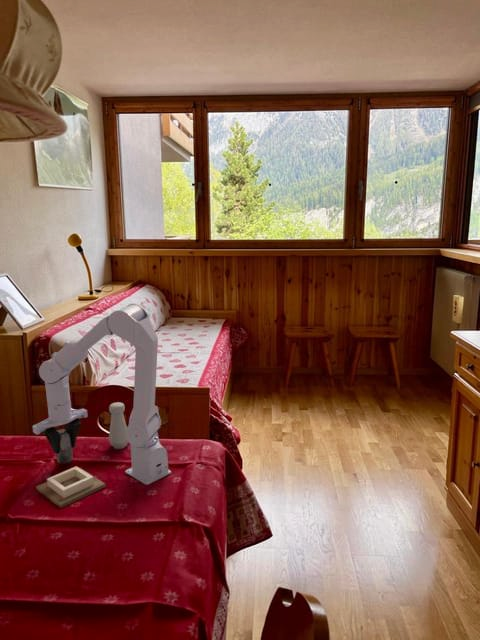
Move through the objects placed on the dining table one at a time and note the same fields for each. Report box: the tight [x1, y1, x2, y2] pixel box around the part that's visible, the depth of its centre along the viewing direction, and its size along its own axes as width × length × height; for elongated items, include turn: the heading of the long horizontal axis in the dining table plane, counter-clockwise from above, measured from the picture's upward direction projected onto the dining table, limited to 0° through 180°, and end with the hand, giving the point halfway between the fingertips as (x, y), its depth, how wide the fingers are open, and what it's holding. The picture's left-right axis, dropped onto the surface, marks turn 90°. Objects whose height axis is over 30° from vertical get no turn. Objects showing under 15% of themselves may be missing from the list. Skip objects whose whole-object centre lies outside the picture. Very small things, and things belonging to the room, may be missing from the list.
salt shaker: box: [108, 401, 129, 450], centre depth 145 cm, size 6×6×13 cm
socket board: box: [36, 465, 106, 509], centre depth 124 cm, size 12×12×3 cm
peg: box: [56, 428, 74, 464], centre depth 135 cm, size 4×4×8 cm
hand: (64, 449), depth 135 cm, fingers closed on peg, 4 cm apart
